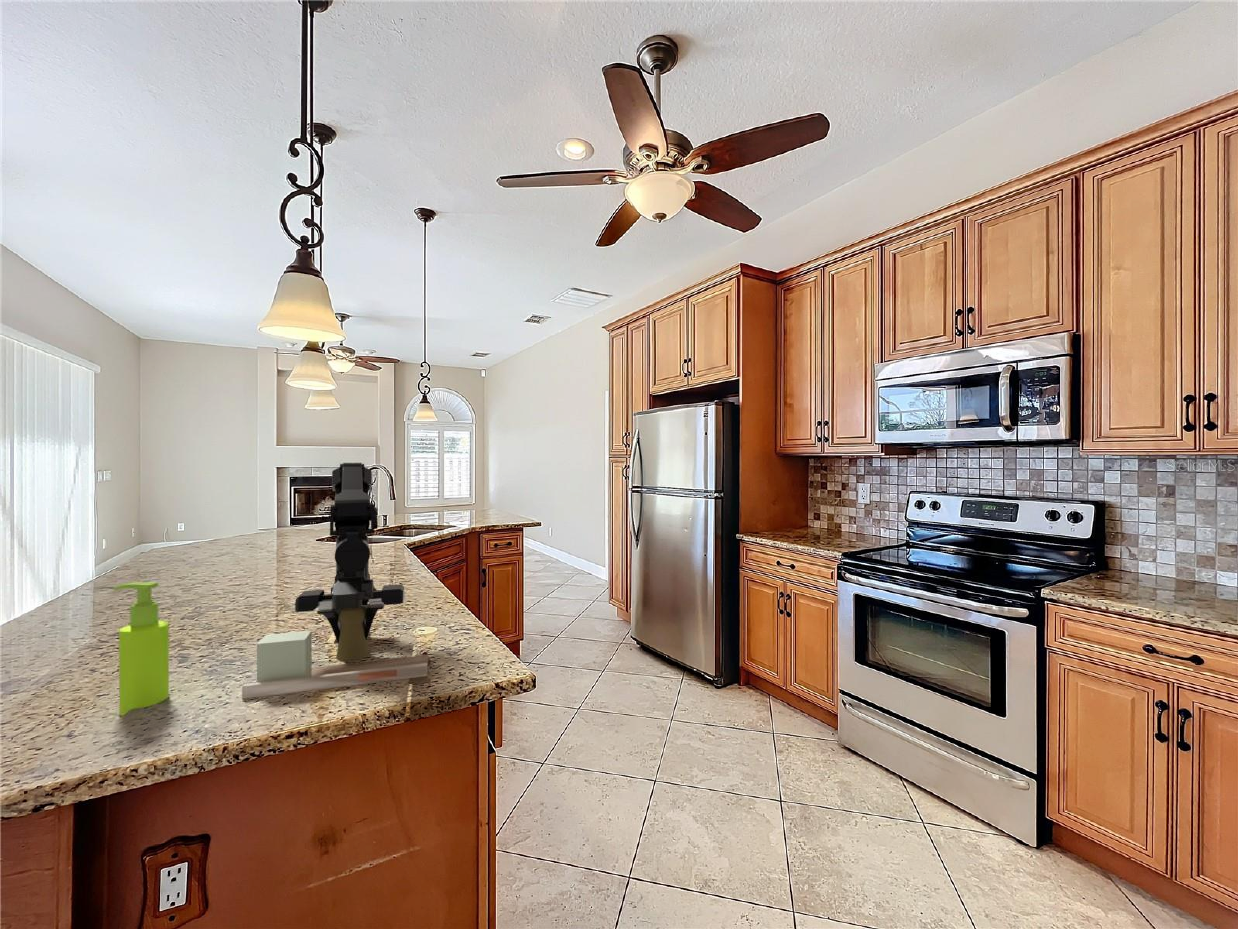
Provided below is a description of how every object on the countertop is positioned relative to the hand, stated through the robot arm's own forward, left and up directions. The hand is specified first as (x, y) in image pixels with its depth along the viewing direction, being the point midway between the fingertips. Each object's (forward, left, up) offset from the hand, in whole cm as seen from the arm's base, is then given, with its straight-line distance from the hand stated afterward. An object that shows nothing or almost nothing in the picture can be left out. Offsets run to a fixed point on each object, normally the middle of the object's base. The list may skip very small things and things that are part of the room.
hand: (352, 641), depth 105 cm
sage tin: (+11, -9, -3) cm, 14 cm away
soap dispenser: (+11, -29, -4) cm, 31 cm away
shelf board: (+10, 0, -4) cm, 11 cm away
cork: (0, 0, -4) cm, 4 cm away
